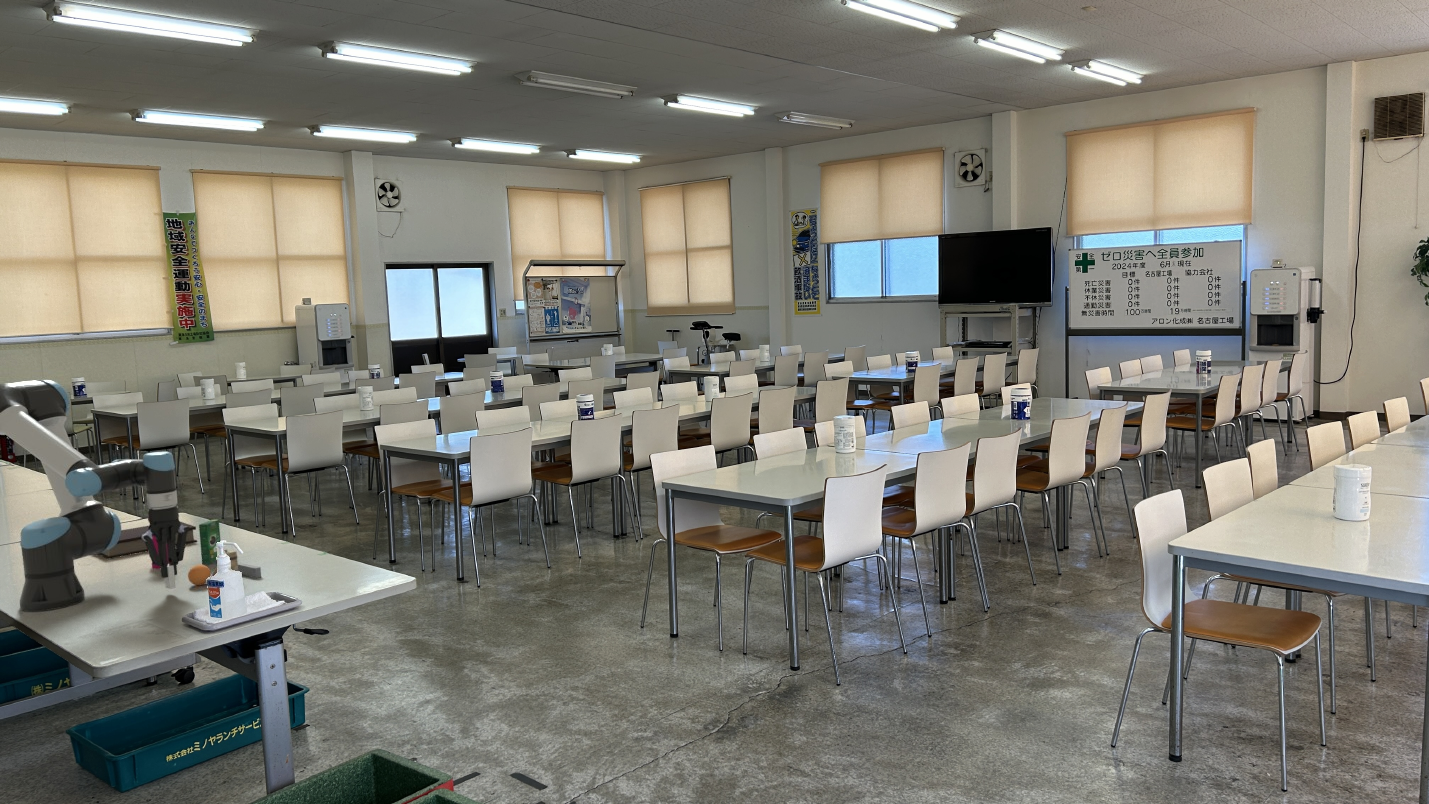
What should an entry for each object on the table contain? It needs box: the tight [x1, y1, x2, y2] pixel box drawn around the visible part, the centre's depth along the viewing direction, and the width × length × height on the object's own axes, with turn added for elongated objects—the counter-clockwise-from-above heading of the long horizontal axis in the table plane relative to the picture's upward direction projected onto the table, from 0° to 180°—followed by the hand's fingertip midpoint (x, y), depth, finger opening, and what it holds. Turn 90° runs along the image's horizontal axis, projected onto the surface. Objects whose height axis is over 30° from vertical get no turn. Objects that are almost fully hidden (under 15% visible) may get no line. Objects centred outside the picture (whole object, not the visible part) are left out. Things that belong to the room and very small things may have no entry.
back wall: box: [237, 561, 262, 579], centre depth 301 cm, size 2×14×3 cm, turn 56°
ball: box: [187, 564, 212, 586], centre depth 291 cm, size 6×6×6 cm
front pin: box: [211, 552, 228, 577], centre depth 295 cm, size 2×2×8 cm
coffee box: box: [198, 519, 221, 565], centre depth 319 cm, size 8×3×13 cm, turn 179°
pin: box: [228, 550, 239, 571], centre depth 296 cm, size 2×2×8 cm
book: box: [97, 521, 198, 560], centre depth 344 cm, size 28×20×6 cm
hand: (170, 587), depth 283 cm, fingers closed
